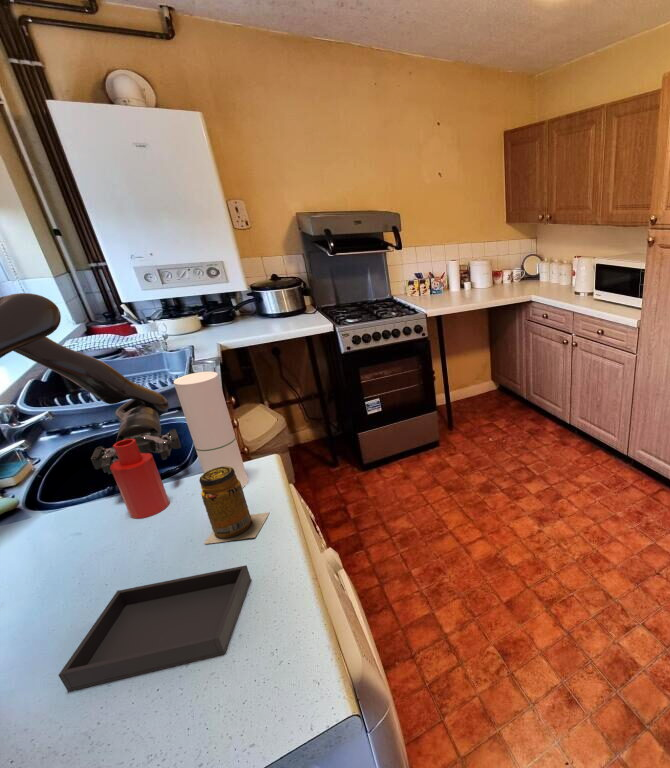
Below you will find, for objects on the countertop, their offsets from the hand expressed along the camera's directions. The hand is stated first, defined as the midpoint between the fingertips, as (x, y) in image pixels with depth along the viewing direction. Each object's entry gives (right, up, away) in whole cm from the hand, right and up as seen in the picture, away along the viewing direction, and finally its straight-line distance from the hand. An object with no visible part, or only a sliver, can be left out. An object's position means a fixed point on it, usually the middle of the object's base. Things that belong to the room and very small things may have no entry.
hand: (136, 462), depth 88 cm
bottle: (+3, -9, 0) cm, 10 cm away
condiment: (+25, -11, -7) cm, 28 cm away
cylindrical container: (+15, -6, +6) cm, 17 cm away
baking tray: (+27, -19, -26) cm, 42 cm away
